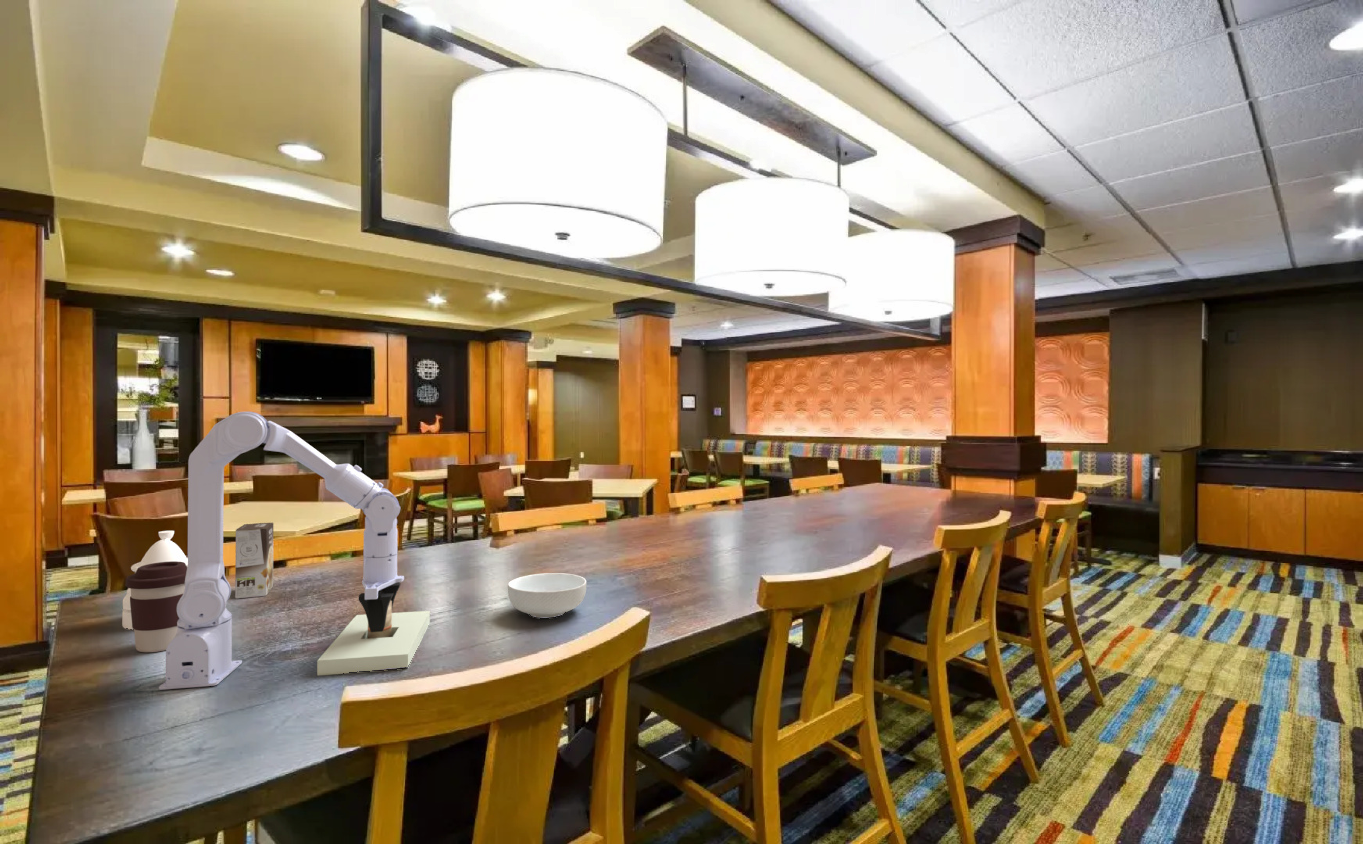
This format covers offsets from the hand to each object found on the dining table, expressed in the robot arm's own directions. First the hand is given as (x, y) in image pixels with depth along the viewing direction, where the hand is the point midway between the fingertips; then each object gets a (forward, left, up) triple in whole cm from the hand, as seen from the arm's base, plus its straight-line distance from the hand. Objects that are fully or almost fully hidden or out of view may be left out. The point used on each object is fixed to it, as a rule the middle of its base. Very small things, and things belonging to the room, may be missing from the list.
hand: (380, 627), depth 118 cm
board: (0, 0, -4) cm, 4 cm away
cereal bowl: (+14, -31, -4) cm, 34 cm away
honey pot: (+25, +47, -4) cm, 53 cm away
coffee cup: (+8, +39, -4) cm, 40 cm away
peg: (0, 0, -2) cm, 2 cm away
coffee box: (+43, +37, -4) cm, 57 cm away
